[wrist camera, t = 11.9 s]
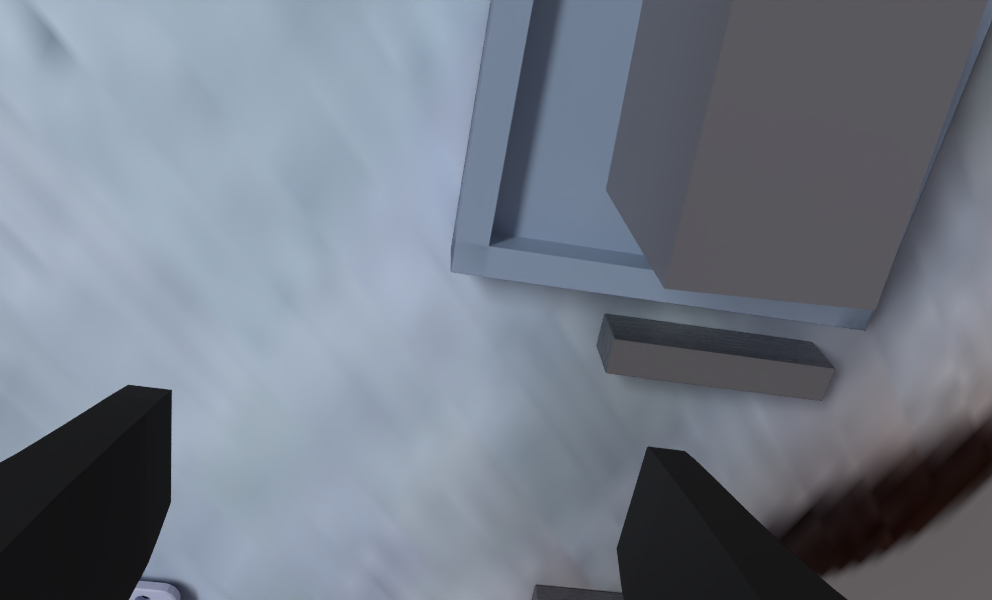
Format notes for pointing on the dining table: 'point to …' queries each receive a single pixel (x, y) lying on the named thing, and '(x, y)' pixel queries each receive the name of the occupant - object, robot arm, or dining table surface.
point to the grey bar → (783, 140)
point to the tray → (578, 160)
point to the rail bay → (703, 373)
